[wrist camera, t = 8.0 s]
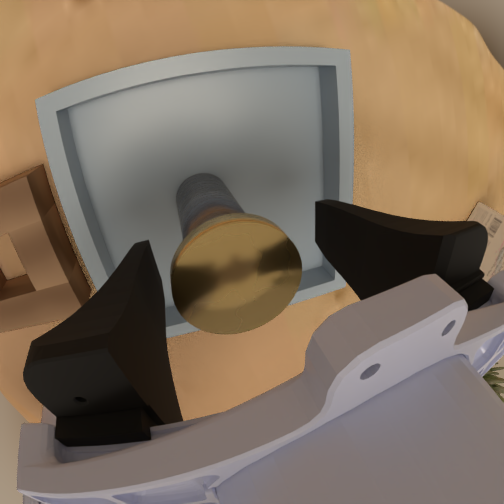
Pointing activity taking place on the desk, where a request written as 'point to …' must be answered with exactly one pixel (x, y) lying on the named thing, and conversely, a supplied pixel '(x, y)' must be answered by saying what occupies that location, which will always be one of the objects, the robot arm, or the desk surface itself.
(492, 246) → the ink cartridge box
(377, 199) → the desk surface
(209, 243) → the lock pin
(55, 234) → the brown square socket base
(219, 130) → the tray
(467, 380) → the robot arm
